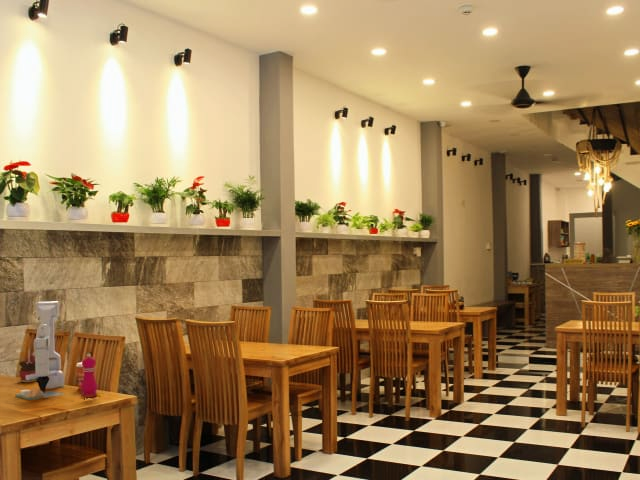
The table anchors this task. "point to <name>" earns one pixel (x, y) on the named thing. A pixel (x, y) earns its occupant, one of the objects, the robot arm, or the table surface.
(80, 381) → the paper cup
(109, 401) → the table surface
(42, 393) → the terracotta block
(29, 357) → the cake
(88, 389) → the pepper mill
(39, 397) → the box
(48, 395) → the plate
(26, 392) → the tile cream
